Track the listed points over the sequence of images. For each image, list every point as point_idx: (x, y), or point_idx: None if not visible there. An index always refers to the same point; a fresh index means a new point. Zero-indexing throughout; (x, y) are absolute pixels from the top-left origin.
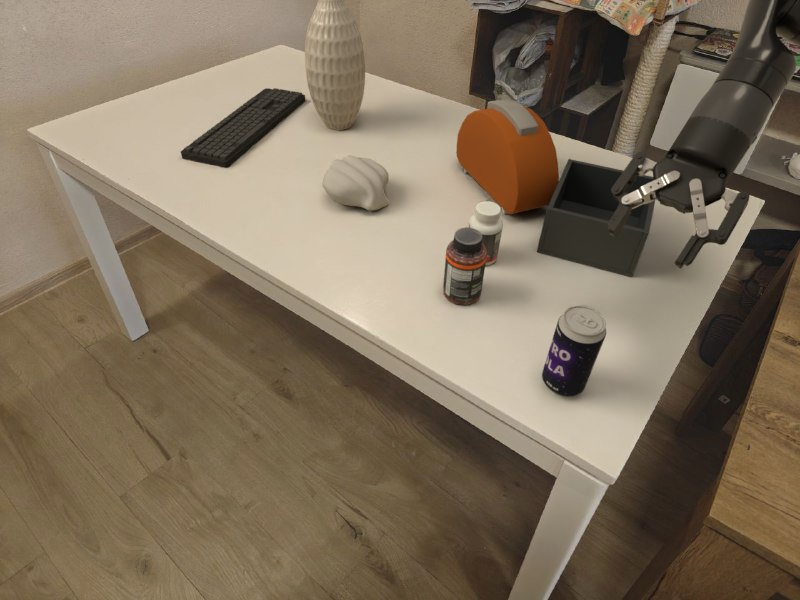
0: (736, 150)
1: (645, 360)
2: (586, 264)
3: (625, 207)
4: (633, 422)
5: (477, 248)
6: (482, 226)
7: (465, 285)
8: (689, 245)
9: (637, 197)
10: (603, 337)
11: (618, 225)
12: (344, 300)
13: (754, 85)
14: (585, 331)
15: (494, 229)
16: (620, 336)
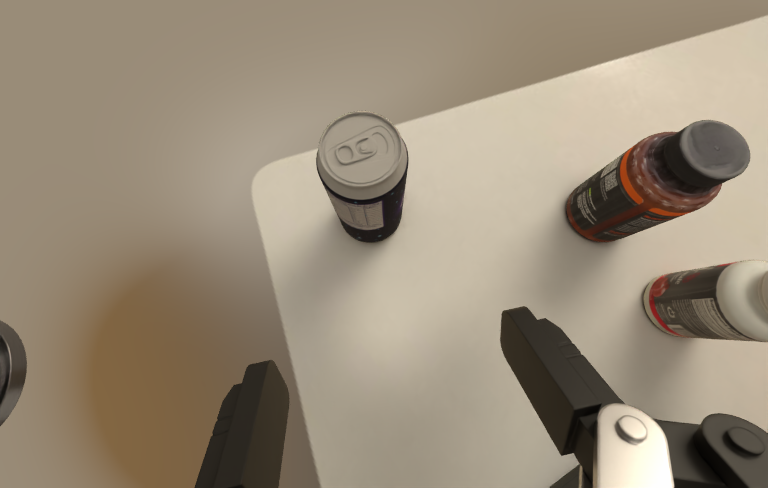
0: None
1: (327, 356)
2: (563, 478)
3: (586, 399)
4: (270, 245)
5: (667, 158)
6: (751, 271)
7: (596, 175)
8: (239, 434)
9: (614, 482)
10: (317, 166)
11: (520, 333)
12: (653, 70)
13: None
14: (338, 130)
15: (731, 292)
16: (384, 365)
